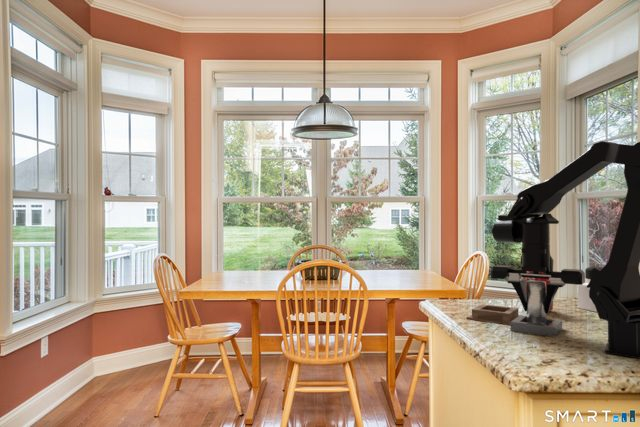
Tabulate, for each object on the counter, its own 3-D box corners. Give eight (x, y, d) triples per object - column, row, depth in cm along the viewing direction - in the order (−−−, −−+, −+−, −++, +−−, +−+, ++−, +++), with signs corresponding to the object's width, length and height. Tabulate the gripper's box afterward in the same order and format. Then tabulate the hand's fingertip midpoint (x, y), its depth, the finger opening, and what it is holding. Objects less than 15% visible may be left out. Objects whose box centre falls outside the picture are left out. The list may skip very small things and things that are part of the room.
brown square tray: (512, 325, 102) (512, 315, 102) (466, 318, 109) (466, 309, 109) (523, 317, 111) (523, 307, 111) (480, 311, 118) (480, 303, 118)
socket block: (555, 337, 91) (555, 327, 91) (510, 330, 97) (510, 321, 97) (562, 328, 99) (562, 320, 99) (520, 323, 104) (520, 315, 104)
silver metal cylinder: (544, 332, 95) (544, 283, 95) (525, 330, 97) (524, 281, 98) (548, 329, 98) (547, 281, 98) (529, 326, 101) (528, 279, 101)
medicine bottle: (599, 313, 116) (599, 268, 117) (577, 308, 123) (576, 266, 124) (620, 311, 118) (619, 268, 119) (597, 306, 125) (596, 265, 125)
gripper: (587, 243, 99) (588, 311, 99) (502, 241, 110) (503, 302, 110) (581, 245, 90) (582, 320, 90) (489, 243, 101) (490, 309, 101)
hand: (536, 312), depth 98 cm, fingers closed on silver metal cylinder, 4 cm apart
